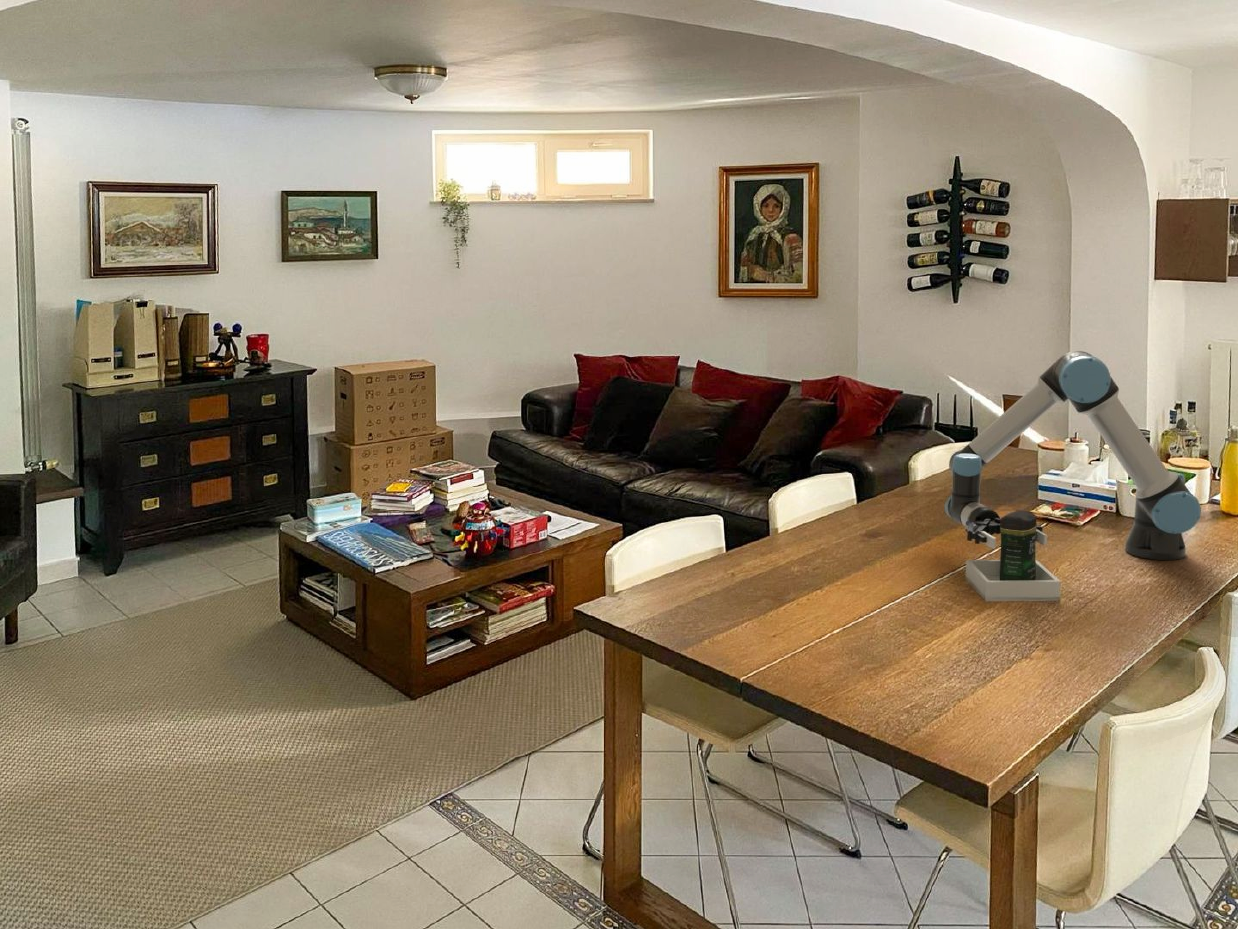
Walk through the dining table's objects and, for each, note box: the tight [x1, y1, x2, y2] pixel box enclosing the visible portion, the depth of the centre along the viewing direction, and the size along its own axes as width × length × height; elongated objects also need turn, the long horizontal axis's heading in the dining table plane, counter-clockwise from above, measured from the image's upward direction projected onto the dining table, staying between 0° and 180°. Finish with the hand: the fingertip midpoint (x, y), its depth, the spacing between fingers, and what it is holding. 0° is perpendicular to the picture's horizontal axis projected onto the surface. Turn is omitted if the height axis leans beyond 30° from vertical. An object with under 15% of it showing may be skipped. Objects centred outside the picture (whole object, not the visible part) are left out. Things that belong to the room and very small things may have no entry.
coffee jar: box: [999, 509, 1038, 581], centre depth 272 cm, size 10×8×19 cm
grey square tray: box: [964, 559, 1062, 602], centre depth 272 cm, size 18×18×5 cm
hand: (1020, 542), depth 266 cm, fingers open, 13 cm apart
